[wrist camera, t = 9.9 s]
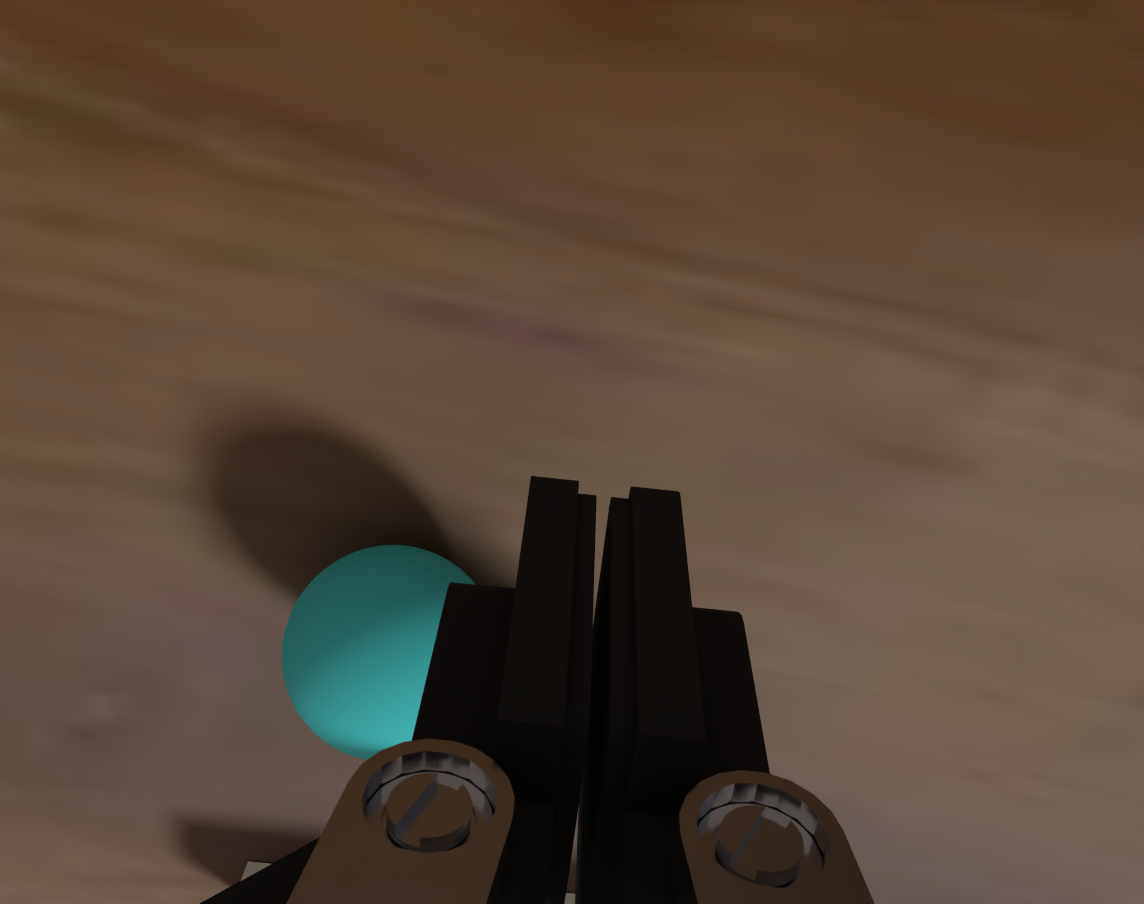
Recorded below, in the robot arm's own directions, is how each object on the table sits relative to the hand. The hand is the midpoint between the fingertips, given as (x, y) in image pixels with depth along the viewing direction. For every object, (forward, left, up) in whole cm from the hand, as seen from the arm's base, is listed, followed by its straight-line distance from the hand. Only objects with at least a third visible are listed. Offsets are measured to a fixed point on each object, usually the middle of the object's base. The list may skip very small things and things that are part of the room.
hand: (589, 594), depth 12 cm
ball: (+12, +6, -14) cm, 19 cm away
